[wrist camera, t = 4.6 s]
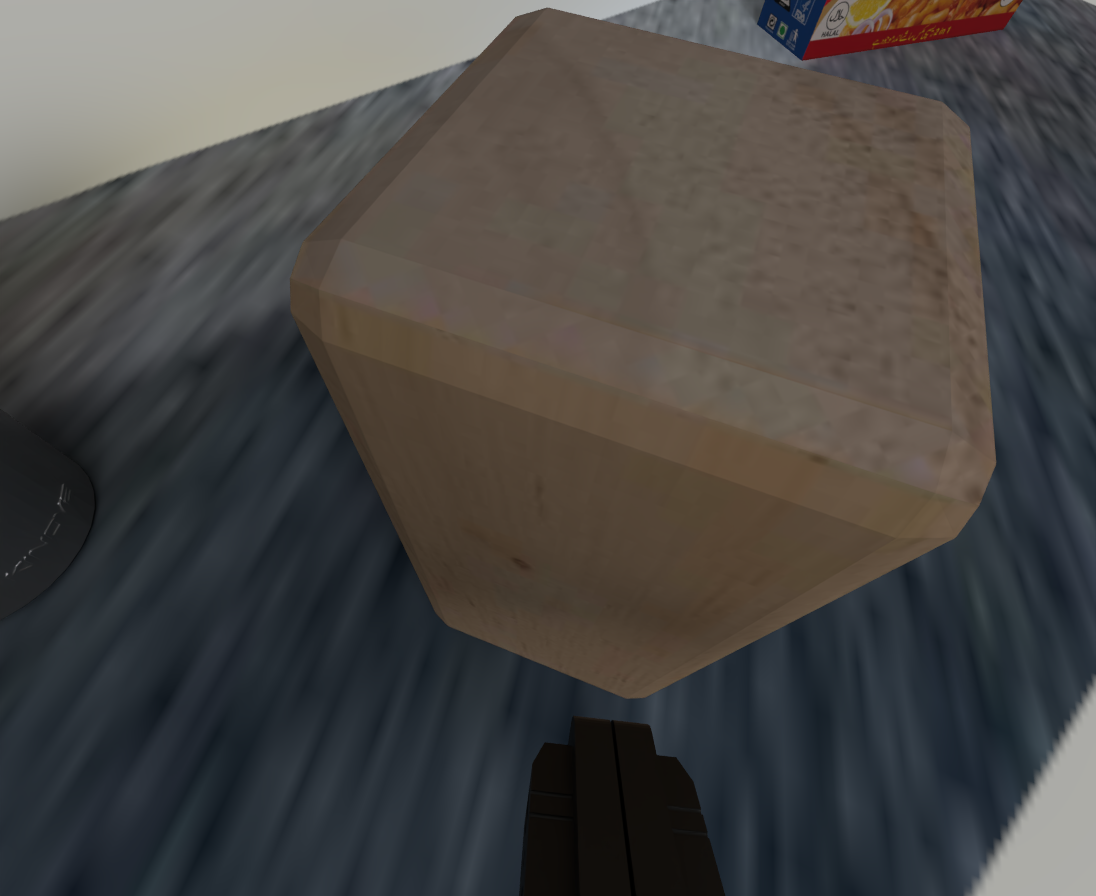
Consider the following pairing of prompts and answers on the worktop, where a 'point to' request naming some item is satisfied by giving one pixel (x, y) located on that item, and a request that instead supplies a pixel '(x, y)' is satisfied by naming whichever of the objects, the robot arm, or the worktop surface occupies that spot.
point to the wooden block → (656, 344)
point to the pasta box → (876, 23)
